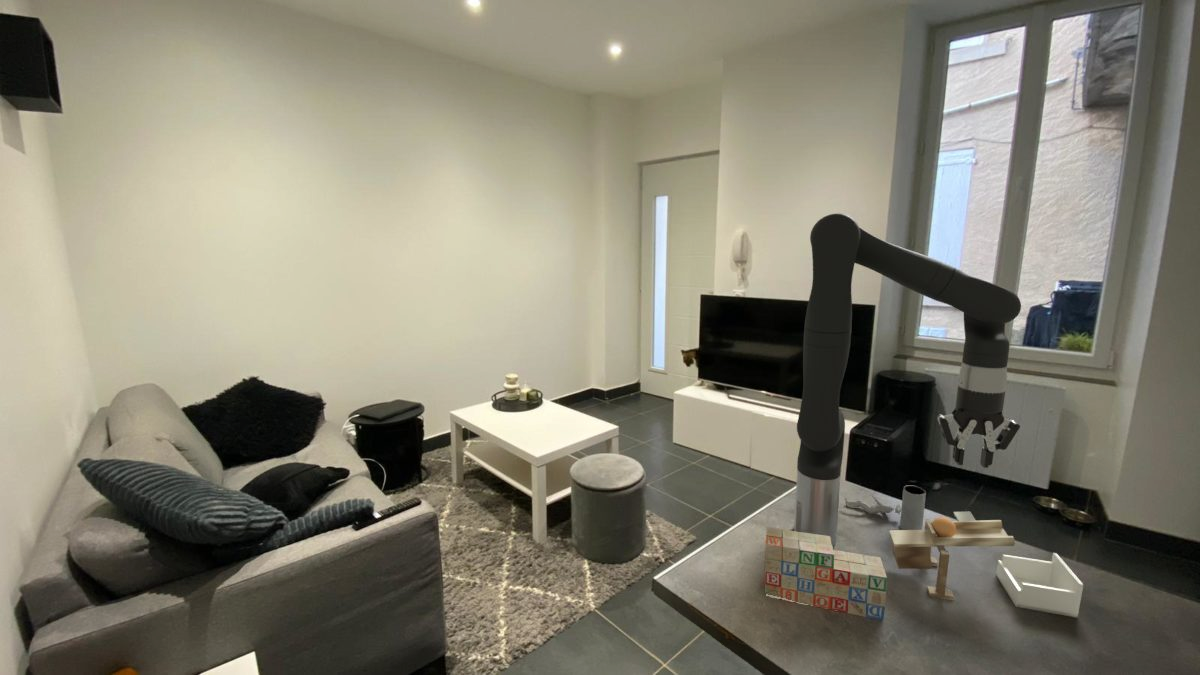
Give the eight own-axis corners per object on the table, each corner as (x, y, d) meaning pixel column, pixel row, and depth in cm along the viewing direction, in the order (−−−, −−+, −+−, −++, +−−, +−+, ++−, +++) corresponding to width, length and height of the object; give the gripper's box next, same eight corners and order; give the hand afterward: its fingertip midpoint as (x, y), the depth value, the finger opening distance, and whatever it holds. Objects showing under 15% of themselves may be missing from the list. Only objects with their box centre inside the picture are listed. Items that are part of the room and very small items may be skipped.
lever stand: (929, 596, 96) (934, 553, 94) (913, 557, 107) (917, 518, 105) (953, 600, 94) (958, 557, 92) (934, 560, 106) (939, 521, 104)
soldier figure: (848, 503, 131) (898, 498, 125) (852, 522, 128) (903, 517, 122) (843, 494, 125) (895, 489, 120) (847, 513, 123) (901, 508, 117)
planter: (918, 524, 118) (922, 486, 116) (924, 535, 114) (928, 496, 112) (897, 521, 120) (901, 484, 118) (902, 532, 116) (906, 493, 114)
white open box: (1015, 606, 92) (1020, 574, 91) (996, 574, 101) (1000, 545, 99) (1077, 617, 89) (1083, 584, 88) (1051, 584, 97) (1056, 553, 96)
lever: (900, 573, 99) (894, 537, 98) (887, 536, 111) (881, 504, 110) (1020, 574, 91) (1015, 536, 90) (993, 534, 103) (988, 500, 102)
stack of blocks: (877, 598, 96) (882, 543, 93) (884, 621, 90) (889, 564, 88) (764, 577, 103) (766, 525, 101) (763, 597, 97) (765, 543, 95)
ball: (936, 542, 97) (934, 524, 96) (930, 530, 101) (928, 513, 100) (960, 542, 96) (957, 523, 95) (953, 530, 99) (951, 512, 99)
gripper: (945, 388, 95) (936, 468, 99) (1034, 394, 90) (1022, 477, 94) (934, 378, 102) (926, 453, 106) (1016, 382, 97) (1005, 460, 101)
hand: (971, 464), depth 100 cm, fingers open, 3 cm apart
